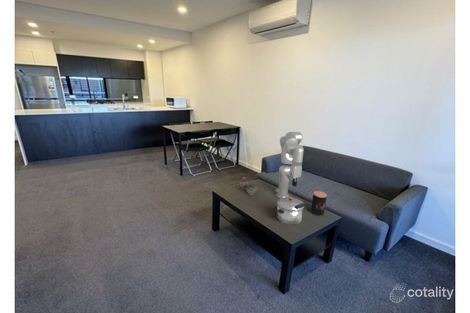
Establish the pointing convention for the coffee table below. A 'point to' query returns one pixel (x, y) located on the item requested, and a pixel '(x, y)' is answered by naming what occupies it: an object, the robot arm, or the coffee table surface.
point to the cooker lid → (291, 204)
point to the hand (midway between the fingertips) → (294, 185)
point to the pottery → (251, 188)
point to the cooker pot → (289, 216)
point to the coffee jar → (318, 203)
